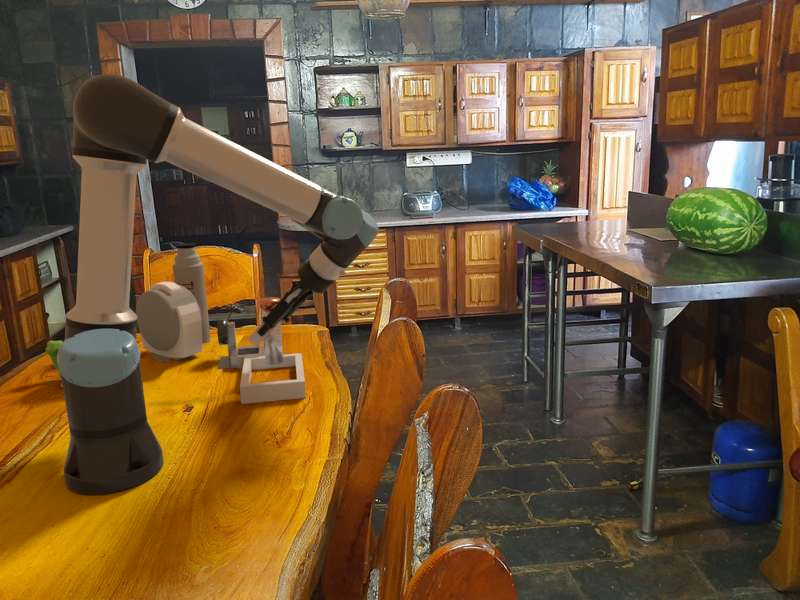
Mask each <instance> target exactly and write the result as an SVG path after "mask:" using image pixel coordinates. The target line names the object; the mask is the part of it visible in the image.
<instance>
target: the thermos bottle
mask: <svg viewBox="0 0 800 600" xmlns="http://www.w3.org/2000/svg"><path fill="white" fill-rule="evenodd" d="M176 248H177V250H176V252H177V255H176V256H174V259H173V260H174V261H173V262H174V264H173V265H172V271H173V281H174V282H173V283H176V284H177V285H180V286H183V287H185V288H186V289H188V290H189V291H190V292H191V293H192V294H193V296H194V297H195V299H196V301H197V302H198V305H199V308H200V311H201V316H202V345H203V344H209V343H210V342H211V331H210V320H209V311H208V300H207V290H206V281H205V279H206V278H205V272H204V270H205V269H204V263H203V262H201V260H202V259H201V256H200V255H199V254H198V253H197V250H196V243H190V242H189V243H188V242H187V243H179V244H177V245H176Z"/></svg>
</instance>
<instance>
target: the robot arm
mask: <svg viewBox="0 0 800 600" xmlns="http://www.w3.org/2000/svg"><path fill="white" fill-rule="evenodd" d="M72 109H73V110H72V117H73V118H72V119H73V127H72V129H73V132H72V134H73V135H72V158H73V160H75V162H76V163H78V164H79V166H80V167H81V180H80V181H81V182H80V202H79V203H80V204H79V205H80V208H79V230H78V232H79V233H78V253H77V275H76V276H77V280H76V296H75V297H76V298H75V299H76V301H75V306H74V307H73V308H71V309H70V310H69V311H68V312H66V314H65V328H64V329H65V330H64V331H65V332H64V335H65V336H64V340H65V341H64V340H63V341H62V342H63V343H62V344H61V346H60V348H59V350H58V369H59V371H60V373H61V378H60V379H61V383H62V385H63V388H62V390H63V396H64V403H65V410H66V415H67V423H68V428H69V434H70V435H69V436H70V438H69V439H70V440H69V442H68V443H69V444H68V449H67V452H66V457H65V462H64V467H63V477H64V481H65V486H66V488H68V489H69V490H70V491H72V492H74V493H77V494H80V495H81V494H82V495H106V494H112V493H117V492H121V491H124V490H128V489H131V488H134V487H136V486H139V485H141V484H143V483H146V482H147V481H148V480H150V479H152V478H153V477H154V476H156V475H157V474H158V473H159V472H160V471H161V470H162V468H163V466H164V454H163V448H162V446H161V444H160V442H159V440H158V439H157V437H156V435H155V433H154V432H153V428H152V427H151V425H150V424H149V422H148V421H149V420H148V417H147V416H148V415H147V408H146V401H145V391H144V385H143V375H142V369H141V361H140V360H141V351H140V347H139V346H138V343H137V334H138V333H137V332H138V331H137V330H138V329H137V327H138V324H137V315H136V312H135V311H133V310H132V309H131V307H130V296H131V295H130V294H131V276H132V261H133V260H132V258H133V245H134V244H133V242H134V226H135V224H134V223H135V207H136V190H137V175H138V174H139V173H140V172H141V171H142V170H144V169H145V168H147V161H149V162H152V163H154V164H158V163H161V162H167V163H169V164H171V165H173V166H176V167H178V168H180V169H182V170H184V171H186V172H189V173H191V174H192V175H194V176H195V175H196V176H198V177H199V178H201V179H204V180H205V181H207V182H210V183H213V184H215V185H217V186H219V187H222V188H224V189H226V190H229V191H231V192H233V194H237V195H238V196H241V197H243V198H246V199H247V200H249V201H252V202H254V203H256V204H258V205H260V206H262V207H265V208H266V209H270V210H271V211H273V212H276V213H278V214H280V215H283V216H284V217H287V218H288V219H290V220H291V221H292V222H293V223H296V224H297V225H299V226H300V227H301V228H303V229H305V230H307V231H308V232H309V233H312V234H313V235H315V237H317V238H319V239H320V240H322V241H321V243H320V244H319V245H318V246H317V248H315V250H313V252H312V253H311V254H310V255H309V258H307V259H306V260H305V261H304V262H303V263H302V264H301V266H300V267H299V268H298V270H297V275H298V276H297V277H299V281H298V282H295V283H294V284H293V285H292V286H291V288H290V290H289V291H287V292H286V293H285V294H284V296H283V297H282V299H281V298H280V302H279V303H278V304H277V305H276V306H275V307H274V308H273V310H272V311H271V312H270V313H269V314H268V315H267V316H266V317H265V316H264V317H262V316H261V320H262V319H263V323H262V322H261V323H260V325H259V326H258V327H257V328H256V329H255V330H254V331H253V333H252V334H251V335H250V336H249V337H248V338H247V340H248V341H249V342H250V343H251V344H252V345H253V346H256V347H258V346H260V345H261V344H262V343H263V342H264V339H265V338H266V337H267V336H268V335H269V334H270V333H271V332H272V331H273V329H274V328H275V326H276V325H277V324H278V323H279V322H281V326H282V325H283V323H286V324H287V323H289V322H290V321H291V319H290V317H292V316H293V315H294V313H295V312H297V310H298V309H299V308H300V306H301V305H303V304H304V303H305V302H306V301H307V300H308V299H309V298H310V297H312V296H313V295H314V294H315V293H316V294H324V293H325V292H326V291H327V290H328V289H329V288H330V287H331V286H332V285H333V284H334V283H335V281H336V280H337V279H338V278H339V277H340V276H341V275H342V276H345V275H346V273H347V272H346V271H345V270H347V269H348V267H349V266H350V265H351V264H352V263H353V262H354V261H355V260H356V259H357V258H358V257H359V256H360V255H361V254H362V253H363V252H364V251H365V250H366V249H367V248H369V246H370V244H371V243H372V242H373V241H374V240H375V239H376V237H377V236H378V234H379V231H380V228H379V225H378V223H377V222H376V220H375V219H374V218H373V217H372V215H370V214H369V213H368V212H367V211H365V210H364V209H362V208H361V206H360V205H359V204H358V202H357V201H355V200H353V199H351V198H349V197H348V196H345V195H339V194H337V193H334V192H333V191H331V190H329V189H327V188H324V187H322V186H320V184H317V183H315V182H313V181H311V180H309V179H307V178H305V177H303V176H301V175H300V174H297V173H295V172H293V171H291V170H289V169H287V168H285V167H283V166H281V165H279V164H277V163H275V162H273V161H271V160H270V159H267V158H265V157H264V156H262V155H259V154H258V153H257V152H256V153H255V152H254V151H251V150H250V149H248V148H246V147H244V146H242V145H240V144H238V143H236V142H234V141H232V140H230V139H228V138H226V137H224V136H222V135H219V134H218V133H216V132H214V131H212V130H210V129H209V128H206V127H205V126H202V125H200V124H198V123H197V122H194V121H192V120H190V119H189V118H186V117H185V116H184V113H183V111H182V109H181V107H179V106H177V105H176V104H173V103H172V102H170V101H167V100H166V99H164V98H163V97H160V96H159V95H157V94H155V93H154V92H153V91H151V90H149V89H147V88H146V87H144V86H143V85H141V84H139V83H138V82H136V81H134V80H132V79H131V78H128V77H126V76H123V75H120V74H115V73H102V74H97V75H95V76H93V77H91V78H89V79H87V80H86V81H85V82H83V83H82V84H81V86H80V87H78V89H77V92H76V94H75V96H74V99H73V108H72ZM59 371H58V372H59Z"/></svg>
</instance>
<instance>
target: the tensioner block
mask: <svg viewBox="0 0 800 600" xmlns="http://www.w3.org/2000/svg"><path fill="white" fill-rule="evenodd" d="M216 323H217V326H216V327H217V328H216V329H217V330H216V331H217V340H218V345H219V346H227V353H228V355H221V356H220V358H219V361H218V365H217V367H216V368H217V369H216V370H225V369H226V370H228V369H231V370H232V369H238V370H243V364H244V358H254V357H260V356H265V350H264V345H261V346H260V345H259V346H258V347H256V346H255V345H249V346H248V345H247V346H238V347H237V336H236V324H235V321H230V322H229V320H228V319H227V318H225V319H217V322H216Z"/></svg>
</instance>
